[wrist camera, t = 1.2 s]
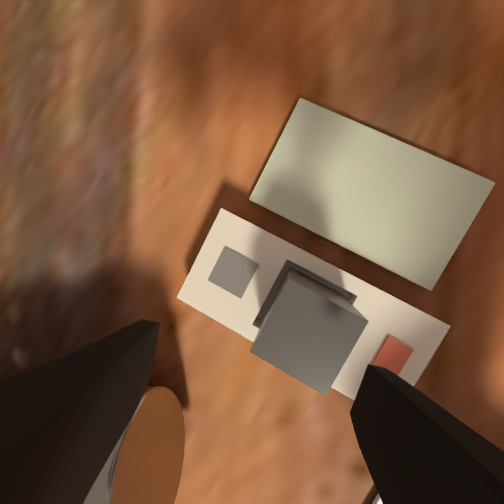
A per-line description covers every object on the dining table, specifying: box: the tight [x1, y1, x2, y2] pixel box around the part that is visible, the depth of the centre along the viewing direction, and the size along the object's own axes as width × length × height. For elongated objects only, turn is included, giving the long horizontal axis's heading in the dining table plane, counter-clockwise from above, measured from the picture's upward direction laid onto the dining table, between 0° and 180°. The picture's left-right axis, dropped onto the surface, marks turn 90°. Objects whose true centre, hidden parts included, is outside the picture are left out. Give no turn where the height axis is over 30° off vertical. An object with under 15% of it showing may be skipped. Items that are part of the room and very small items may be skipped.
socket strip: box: [177, 208, 451, 400], centre depth 18 cm, size 16×7×3 cm, turn 63°
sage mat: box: [249, 98, 496, 291], centre depth 19 cm, size 14×8×1 cm, turn 63°
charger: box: [250, 267, 369, 396], centre depth 16 cm, size 4×4×7 cm
